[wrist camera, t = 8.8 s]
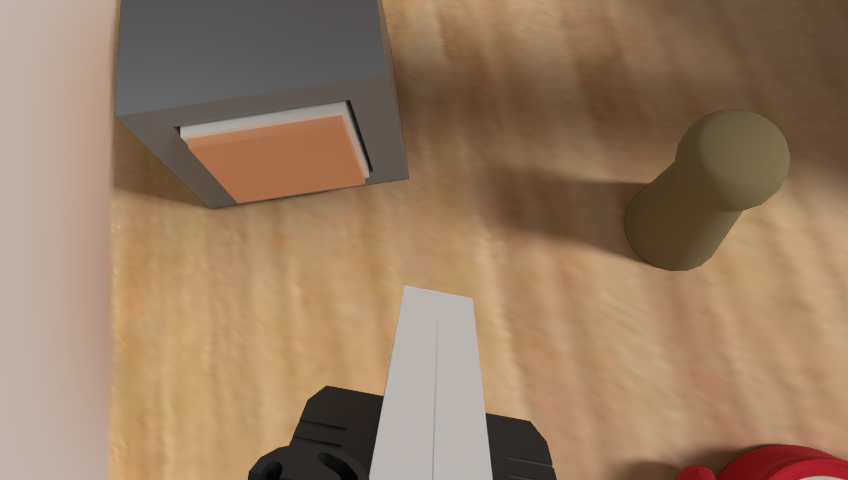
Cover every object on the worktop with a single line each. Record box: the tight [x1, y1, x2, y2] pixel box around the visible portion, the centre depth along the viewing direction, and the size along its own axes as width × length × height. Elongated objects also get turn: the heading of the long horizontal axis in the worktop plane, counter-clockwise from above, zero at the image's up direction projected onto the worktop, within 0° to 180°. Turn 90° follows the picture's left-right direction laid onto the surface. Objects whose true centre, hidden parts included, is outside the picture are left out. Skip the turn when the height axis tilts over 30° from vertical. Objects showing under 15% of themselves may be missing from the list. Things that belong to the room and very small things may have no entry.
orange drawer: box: [180, 100, 369, 203], centre depth 37 cm, size 8×9×8 cm
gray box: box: [114, 0, 409, 209], centre depth 38 cm, size 11×14×12 cm
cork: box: [624, 109, 790, 271], centre depth 34 cm, size 6×6×11 cm
